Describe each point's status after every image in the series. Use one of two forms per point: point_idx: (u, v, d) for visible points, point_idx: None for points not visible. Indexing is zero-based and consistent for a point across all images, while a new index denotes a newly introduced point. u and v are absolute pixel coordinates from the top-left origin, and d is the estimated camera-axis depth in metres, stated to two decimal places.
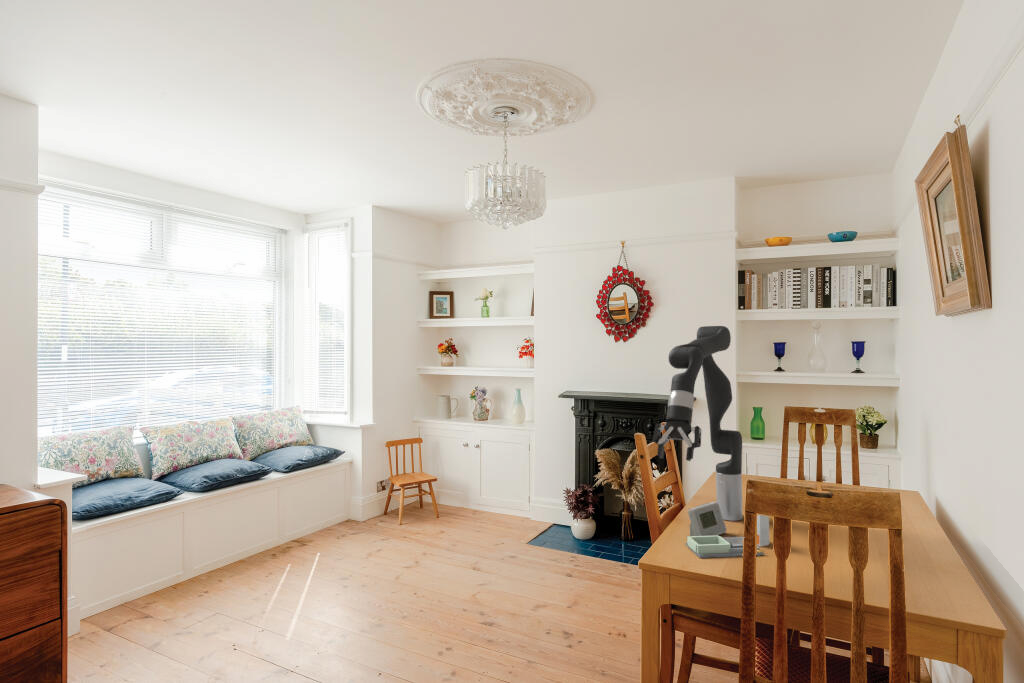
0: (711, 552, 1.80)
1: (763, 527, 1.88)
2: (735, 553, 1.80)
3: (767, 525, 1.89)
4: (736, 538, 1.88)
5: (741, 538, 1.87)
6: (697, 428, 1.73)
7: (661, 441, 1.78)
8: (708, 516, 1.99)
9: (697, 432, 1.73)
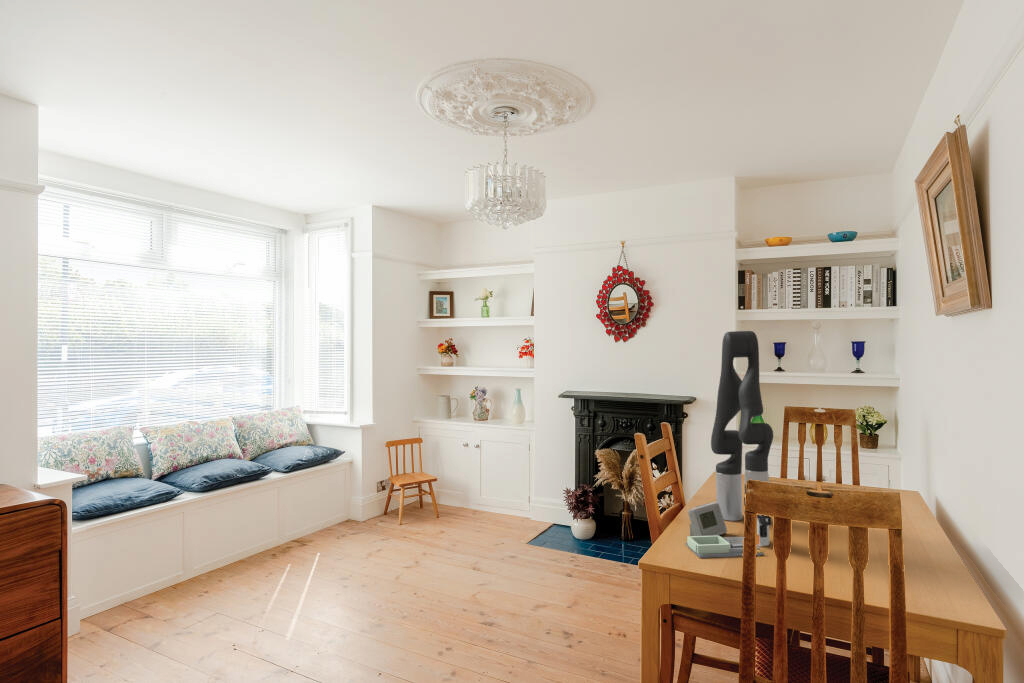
0: (711, 552, 1.80)
1: None
2: (735, 553, 1.80)
3: None
4: (736, 538, 1.88)
5: (741, 538, 1.87)
6: None
7: None
8: (708, 516, 1.98)
9: None
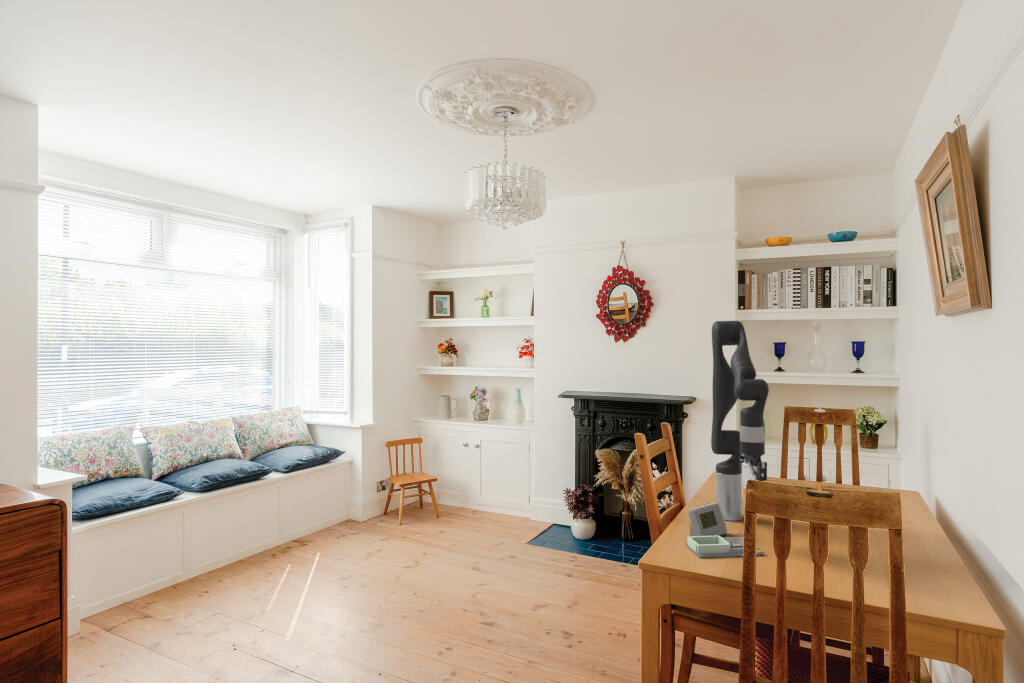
0: (711, 552, 1.80)
1: None
2: (735, 553, 1.80)
3: None
4: (736, 538, 1.88)
5: (741, 538, 1.87)
6: (758, 464, 1.84)
7: None
8: (708, 516, 1.98)
9: (759, 468, 1.84)
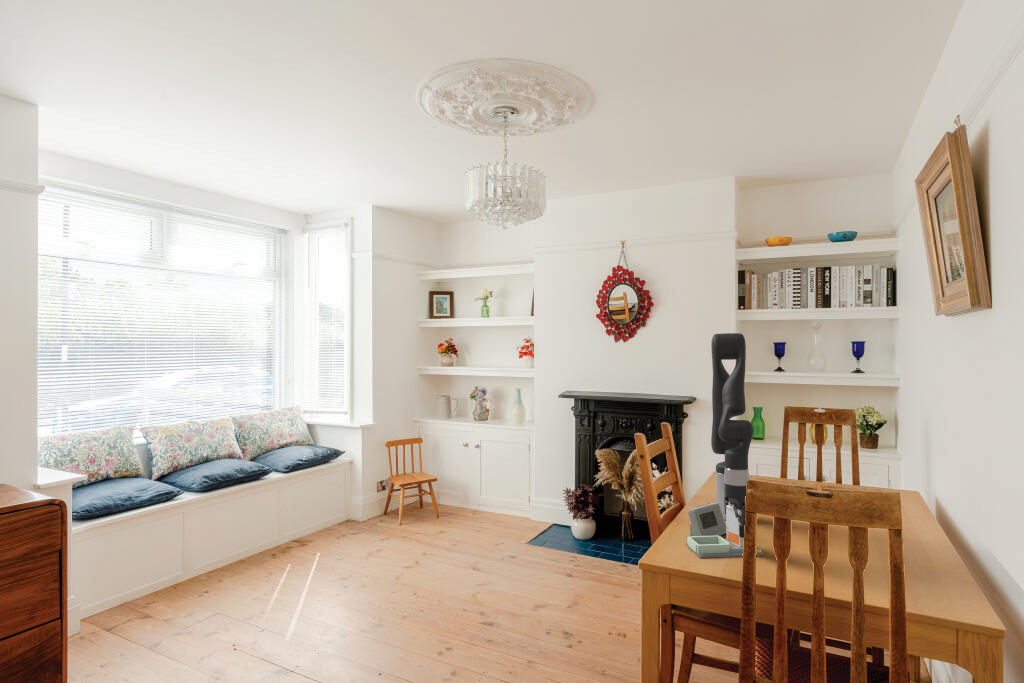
0: (711, 552, 1.80)
1: None
2: (735, 553, 1.80)
3: None
4: None
5: None
6: (742, 509, 1.79)
7: None
8: (708, 516, 1.98)
9: (742, 513, 1.79)
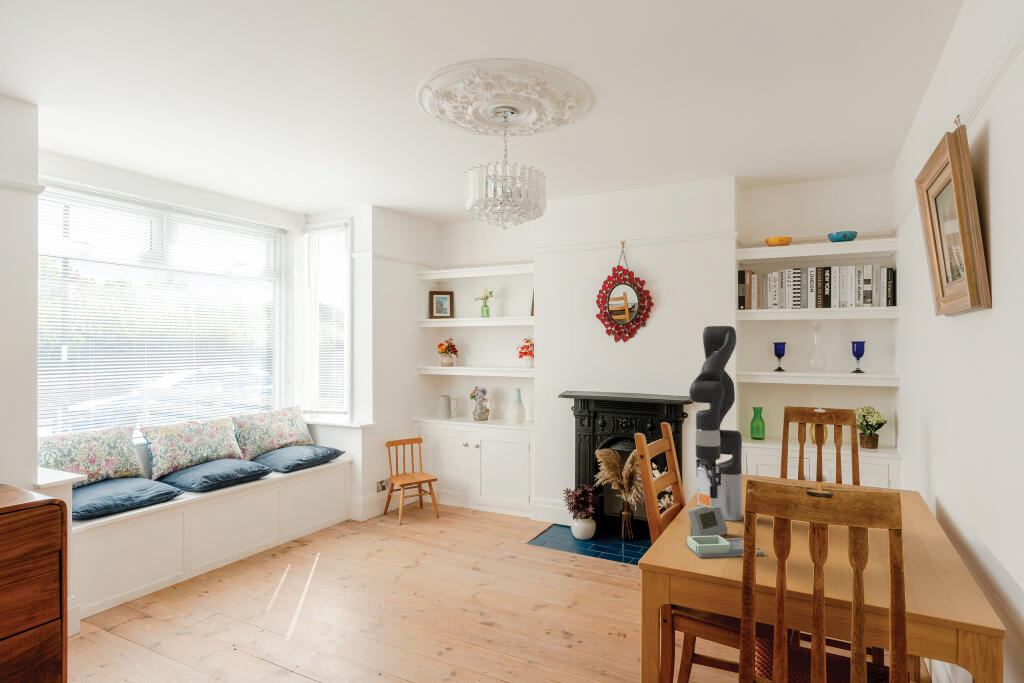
0: (711, 552, 1.80)
1: None
2: (735, 553, 1.80)
3: (718, 486, 1.83)
4: (736, 542, 1.87)
5: (741, 542, 1.87)
6: (712, 469, 1.79)
7: None
8: (708, 517, 1.98)
9: (713, 473, 1.79)
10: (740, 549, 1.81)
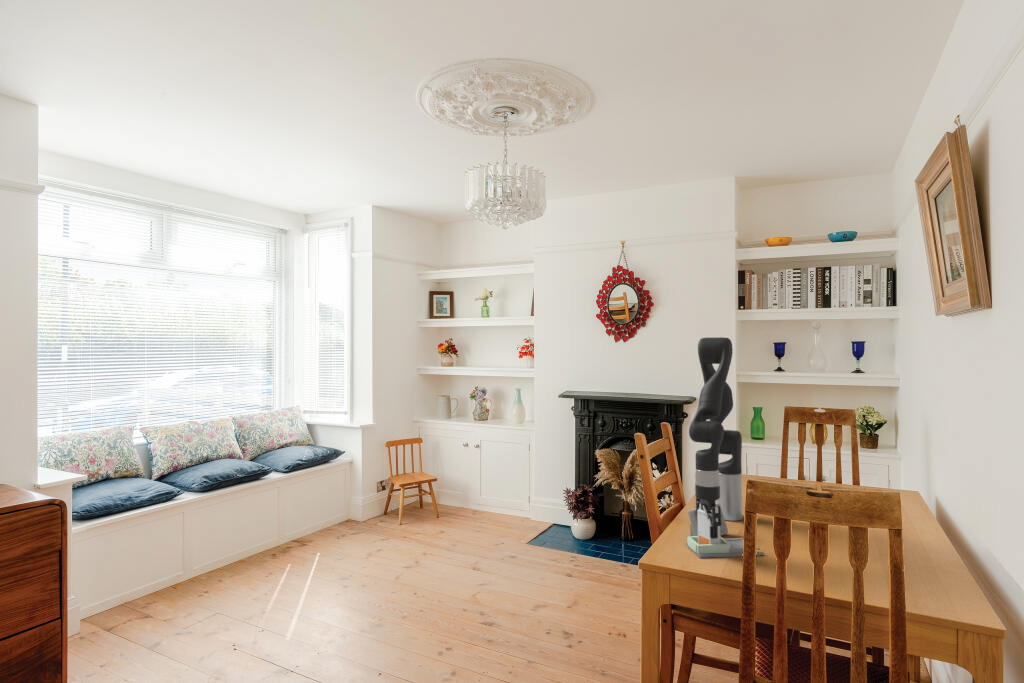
0: (711, 552, 1.80)
1: None
2: (735, 553, 1.80)
3: (718, 529, 1.83)
4: (736, 542, 1.87)
5: (741, 542, 1.87)
6: (712, 509, 1.79)
7: None
8: None
9: (712, 513, 1.79)
10: (740, 549, 1.81)
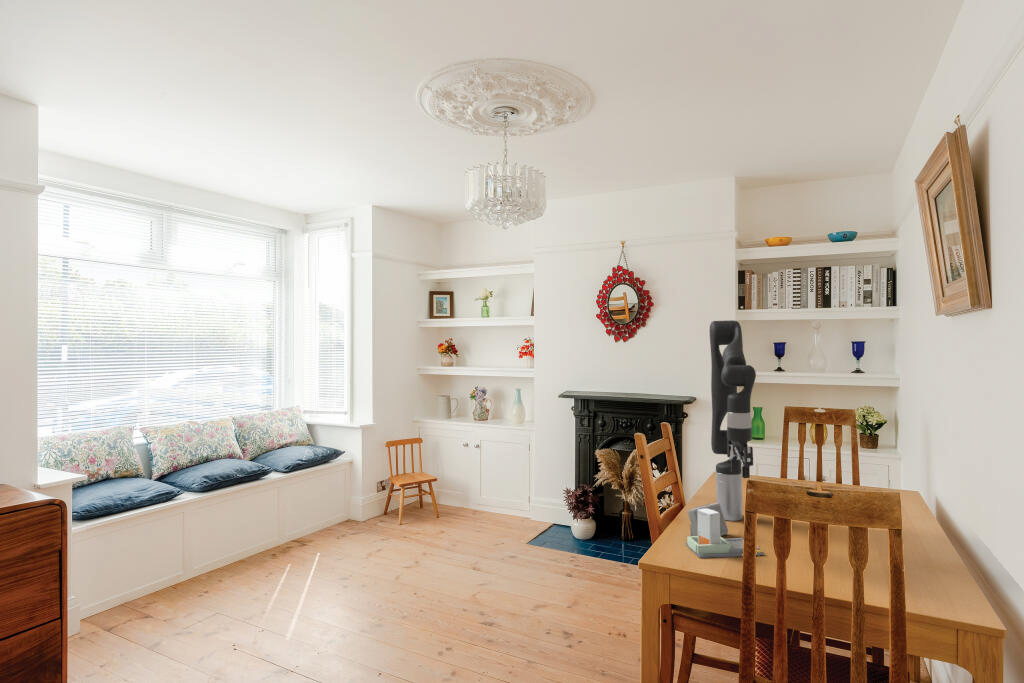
0: (711, 552, 1.80)
1: (713, 532, 1.82)
2: (735, 553, 1.80)
3: (718, 529, 1.83)
4: (736, 542, 1.87)
5: (741, 542, 1.87)
6: (744, 449, 1.84)
7: (730, 457, 1.94)
8: None
9: (744, 453, 1.84)
10: (740, 549, 1.81)
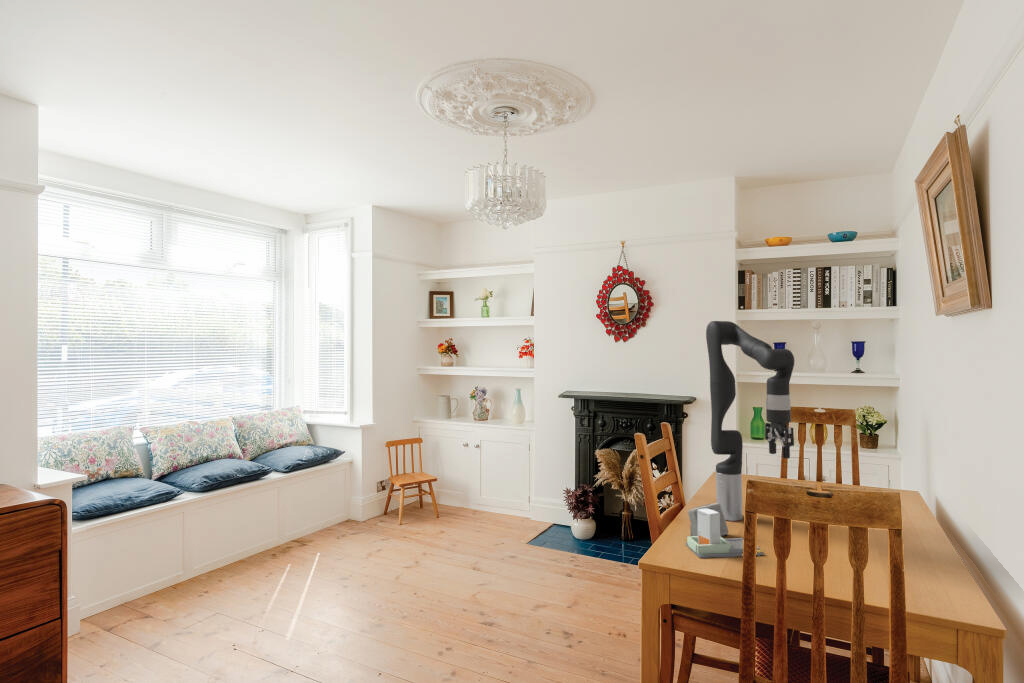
0: (711, 552, 1.80)
1: (713, 532, 1.82)
2: (735, 553, 1.80)
3: (718, 529, 1.83)
4: (736, 542, 1.87)
5: (741, 542, 1.87)
6: (785, 430, 1.89)
7: (769, 439, 2.00)
8: None
9: (785, 433, 1.89)
10: (740, 549, 1.81)
